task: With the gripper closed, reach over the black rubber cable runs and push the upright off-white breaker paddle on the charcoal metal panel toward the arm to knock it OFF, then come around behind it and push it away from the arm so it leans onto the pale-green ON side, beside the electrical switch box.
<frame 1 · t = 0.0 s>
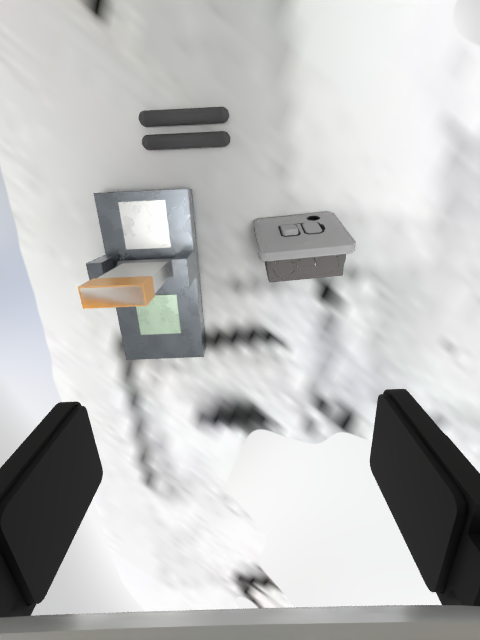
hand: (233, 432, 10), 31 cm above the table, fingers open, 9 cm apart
cable runs: (185, 129, 34), on the table
breaker panel: (159, 276, 40), on the table
electrical switch: (294, 237, 39), on the table
breaker lever: (134, 279, 31), point 9 cm above the table, hinge at 0.0°
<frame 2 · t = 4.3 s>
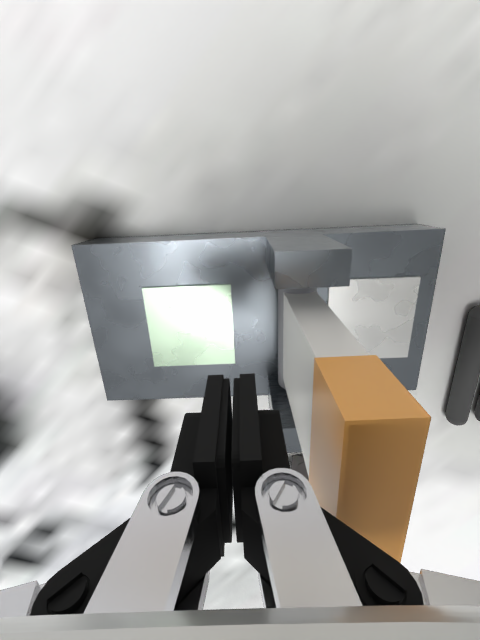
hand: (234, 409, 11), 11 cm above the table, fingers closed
cable runs: (478, 363, 23), on the table
breaker panel: (256, 307, 22), on the table
breaker lever: (317, 379, 13), point 9 cm above the table, hinge at -1.0°, touching gripper
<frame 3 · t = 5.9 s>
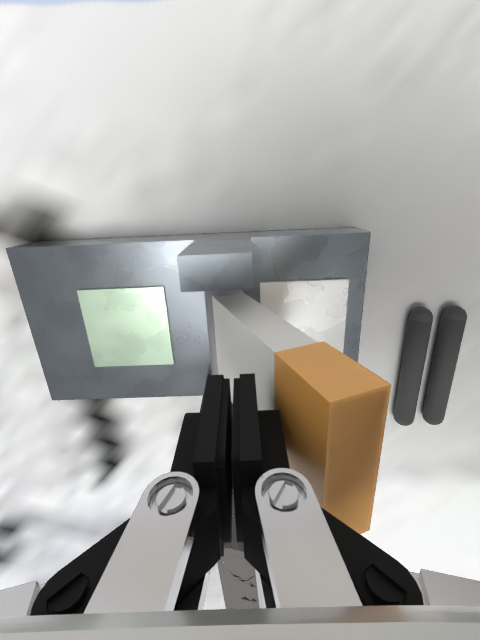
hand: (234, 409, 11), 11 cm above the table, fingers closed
cable runs: (423, 364, 23), on the table
breaker panel: (200, 308, 22), on the table
electrical switch: (262, 486, 28), on the table
breaker lever: (262, 374, 14), point 9 cm above the table, hinge at -21.7°, touching gripper
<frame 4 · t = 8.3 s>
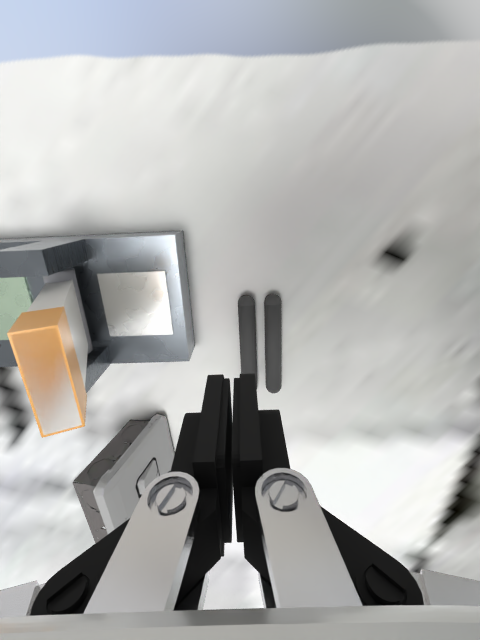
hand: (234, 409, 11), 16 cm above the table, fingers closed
cable runs: (261, 343, 29), on the table
breaker panel: (73, 296, 27), on the table
electrical switch: (149, 449, 33), on the table
breaker lever: (62, 336, 19), point 9 cm above the table, hinge at -23.9°
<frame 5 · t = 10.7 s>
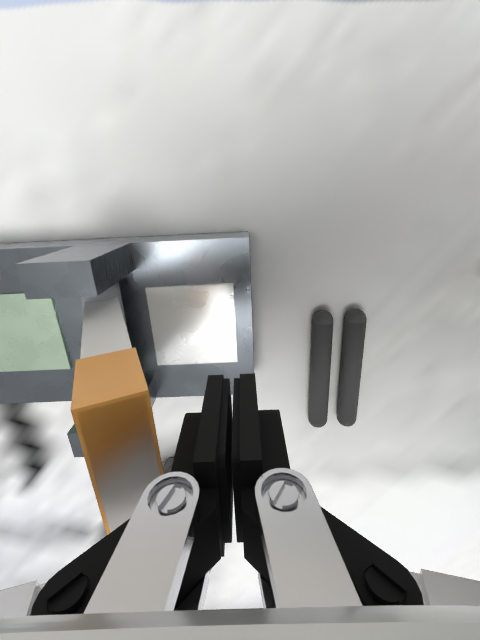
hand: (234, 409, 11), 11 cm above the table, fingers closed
cable runs: (333, 366, 24), on the table
breaker panel: (106, 313, 22), on the table
breaker lever: (115, 379, 14), point 9 cm above the table, hinge at -23.7°, touching gripper
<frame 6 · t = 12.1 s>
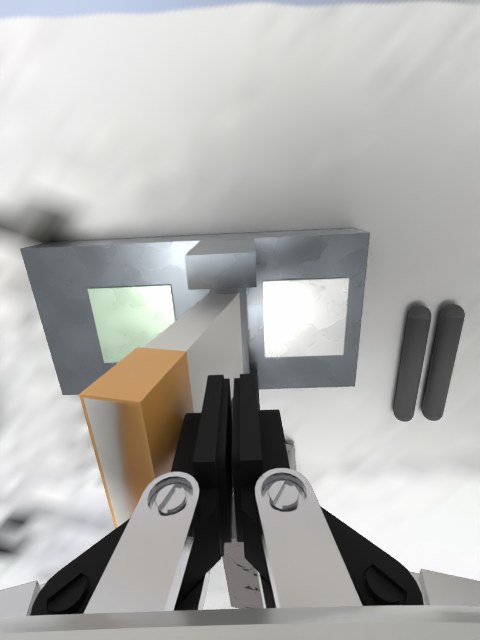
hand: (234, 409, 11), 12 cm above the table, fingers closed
cable runs: (422, 361, 24), on the table
breaker panel: (205, 307, 23), on the table
electrical switch: (265, 481, 29), on the table
breaker lever: (200, 372, 14), point 9 cm above the table, hinge at 13.7°, touching gripper
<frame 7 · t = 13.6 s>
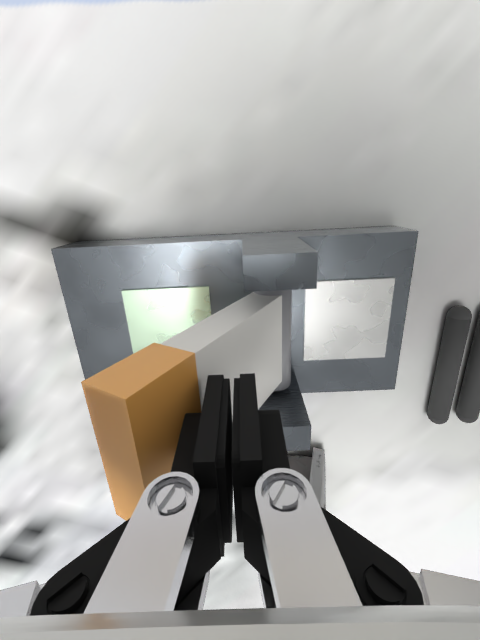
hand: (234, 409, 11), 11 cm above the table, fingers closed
cable runs: (458, 362, 23), on the table
breaker panel: (237, 308, 22), on the table
electrical switch: (292, 486, 28), on the table
breaker lever: (226, 373, 14), point 9 cm above the table, hinge at 30.6°, touching gripper
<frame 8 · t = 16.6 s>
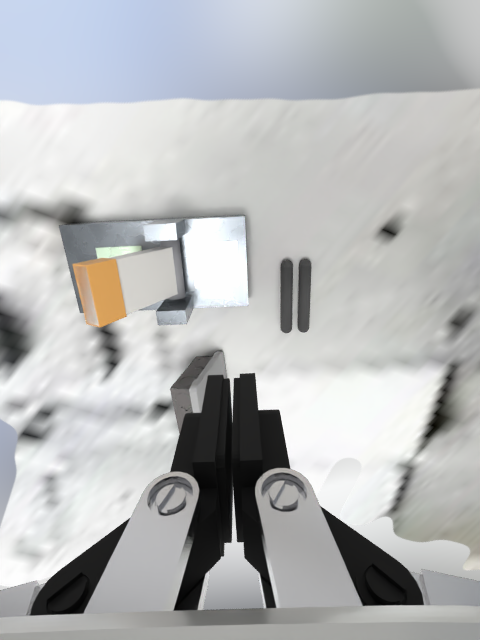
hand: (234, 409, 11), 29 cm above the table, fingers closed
cable runs: (295, 295, 40), on the table
breaker panel: (163, 262, 39), on the table
electrical switch: (208, 380, 45), on the table
breaker lever: (139, 279, 31), point 9 cm above the table, hinge at 30.7°
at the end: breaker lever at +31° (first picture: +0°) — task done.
